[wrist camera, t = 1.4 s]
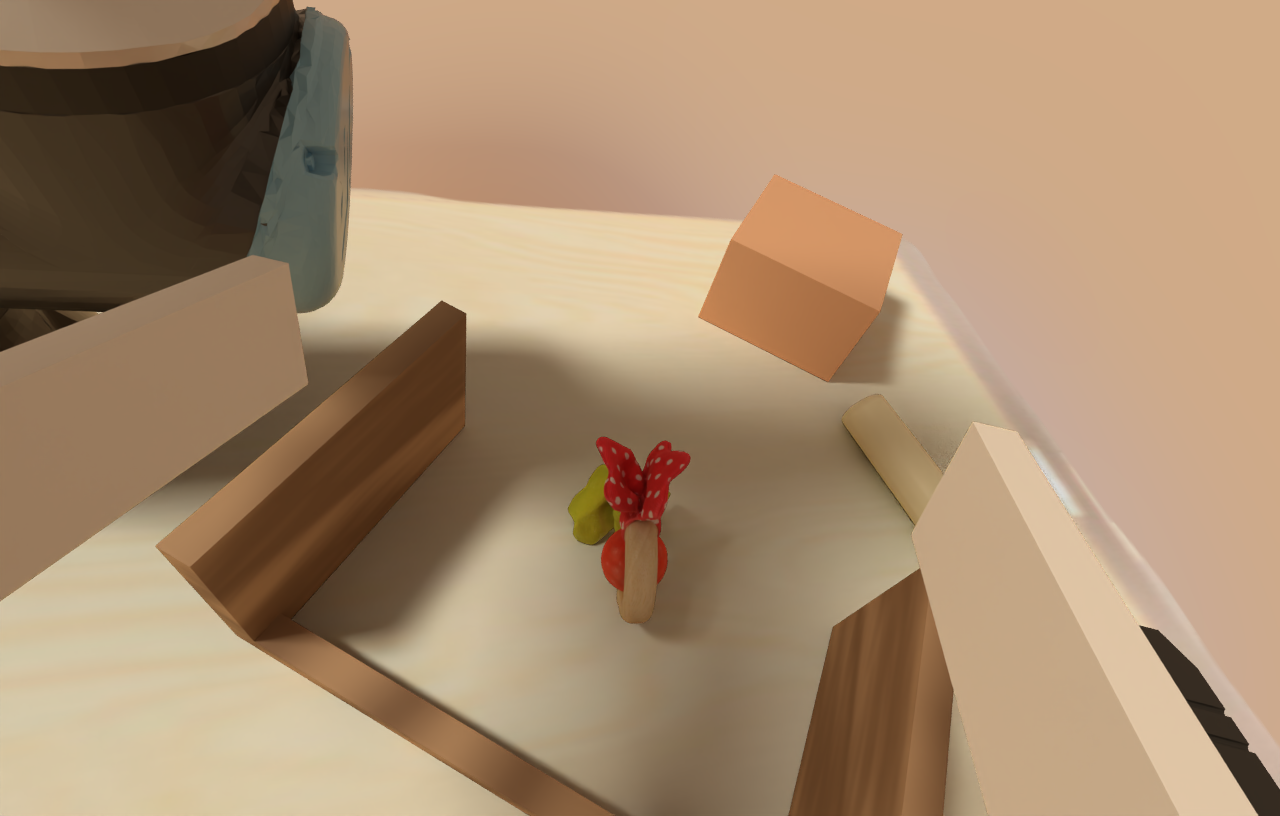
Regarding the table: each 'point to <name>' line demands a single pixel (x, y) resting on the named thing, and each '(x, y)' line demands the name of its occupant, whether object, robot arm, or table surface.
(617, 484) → the bird rattle
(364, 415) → the walnut slot
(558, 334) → the table surface
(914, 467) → the tan piece
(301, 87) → the robot arm
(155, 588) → the table surface
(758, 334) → the terracotta stand
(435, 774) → the table surface
